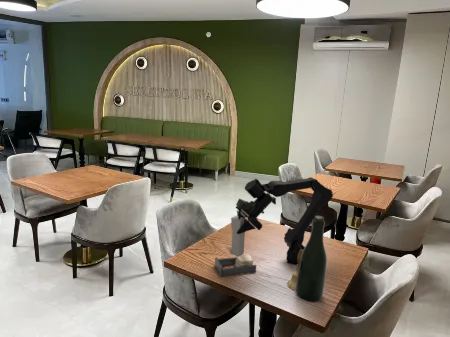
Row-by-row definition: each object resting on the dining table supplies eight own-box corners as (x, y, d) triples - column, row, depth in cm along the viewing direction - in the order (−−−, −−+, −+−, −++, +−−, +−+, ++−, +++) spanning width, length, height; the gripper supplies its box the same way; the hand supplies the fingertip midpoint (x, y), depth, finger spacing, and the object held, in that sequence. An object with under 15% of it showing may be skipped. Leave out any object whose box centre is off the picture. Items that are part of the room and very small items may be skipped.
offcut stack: (247, 263, 154) (248, 254, 153) (253, 270, 148) (254, 260, 147) (235, 265, 152) (235, 255, 150) (240, 272, 146) (241, 262, 145)
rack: (248, 261, 155) (248, 253, 154) (255, 272, 147) (256, 263, 146) (214, 265, 150) (215, 257, 149) (220, 276, 142) (221, 268, 141)
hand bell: (302, 279, 142) (306, 244, 139) (310, 290, 134) (314, 254, 131) (283, 280, 141) (287, 245, 137) (291, 291, 133) (295, 255, 129)
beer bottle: (302, 283, 138) (312, 209, 130) (326, 294, 132) (338, 216, 124) (290, 295, 130) (300, 216, 122) (315, 307, 124) (327, 225, 116)
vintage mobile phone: (234, 250, 150) (237, 197, 145) (243, 254, 147) (246, 200, 142) (229, 253, 147) (231, 199, 142) (238, 257, 144) (241, 201, 139)
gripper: (240, 186, 151) (216, 211, 150) (256, 199, 133) (229, 228, 132) (255, 202, 155) (232, 226, 154) (273, 216, 137) (247, 244, 137)
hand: (234, 230), depth 144 cm, fingers closed on vintage mobile phone, 6 cm apart
